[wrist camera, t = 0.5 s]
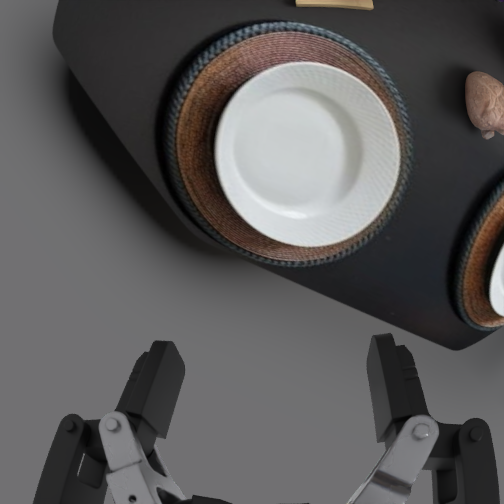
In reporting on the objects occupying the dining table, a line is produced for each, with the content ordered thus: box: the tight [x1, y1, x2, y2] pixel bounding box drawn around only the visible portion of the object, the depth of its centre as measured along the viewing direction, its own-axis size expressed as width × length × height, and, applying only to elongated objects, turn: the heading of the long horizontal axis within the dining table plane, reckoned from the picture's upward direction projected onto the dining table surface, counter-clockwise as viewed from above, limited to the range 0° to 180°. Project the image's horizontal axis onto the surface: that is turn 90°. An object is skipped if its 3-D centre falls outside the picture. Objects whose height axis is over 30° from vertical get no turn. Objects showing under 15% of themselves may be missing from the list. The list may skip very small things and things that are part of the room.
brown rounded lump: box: [465, 71, 504, 139], centre depth 20 cm, size 8×6×8 cm
